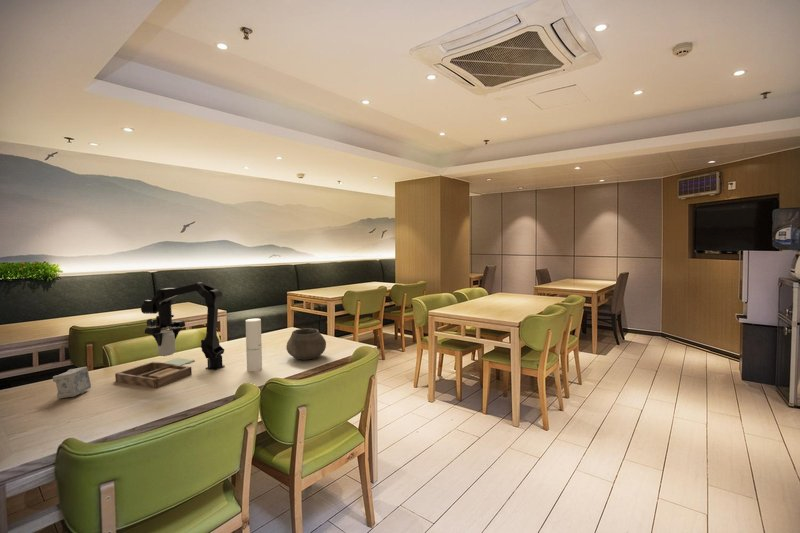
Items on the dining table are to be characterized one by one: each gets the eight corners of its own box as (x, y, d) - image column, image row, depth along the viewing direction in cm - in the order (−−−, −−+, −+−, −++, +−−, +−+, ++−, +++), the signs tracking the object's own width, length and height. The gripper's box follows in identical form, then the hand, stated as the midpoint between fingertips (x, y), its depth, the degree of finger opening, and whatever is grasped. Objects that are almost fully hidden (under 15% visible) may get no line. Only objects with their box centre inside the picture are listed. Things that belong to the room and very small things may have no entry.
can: (167, 356, 191) (166, 332, 190) (154, 356, 192) (153, 332, 191) (178, 352, 198) (177, 329, 197) (165, 351, 199) (164, 329, 198)
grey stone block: (71, 390, 165) (70, 366, 165) (92, 389, 166) (90, 366, 166) (53, 399, 156) (51, 374, 155) (75, 399, 156) (73, 374, 156)
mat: (194, 361, 205) (194, 360, 205) (174, 368, 194) (174, 367, 194) (177, 359, 209) (177, 357, 209) (157, 365, 198) (157, 364, 198)
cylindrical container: (265, 367, 195) (264, 319, 193) (255, 372, 188) (254, 321, 187) (253, 366, 197) (252, 318, 196) (243, 370, 191) (242, 320, 189)
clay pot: (332, 359, 209) (332, 332, 208) (294, 366, 197) (293, 337, 196) (317, 350, 227) (316, 325, 226) (281, 356, 215) (280, 329, 214)
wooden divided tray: (191, 375, 184) (191, 366, 184) (156, 388, 167) (155, 379, 167) (153, 369, 192) (153, 361, 192) (115, 382, 175) (115, 373, 175)
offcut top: (180, 372, 182) (180, 369, 182) (160, 380, 172) (160, 377, 172) (169, 371, 184) (168, 368, 184) (148, 378, 174) (148, 375, 174)
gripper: (168, 309, 205) (170, 338, 206) (135, 316, 187) (137, 347, 188) (185, 310, 201) (186, 339, 203) (152, 317, 184) (154, 349, 185)
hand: (166, 344), depth 195 cm, fingers closed on can, 7 cm apart
